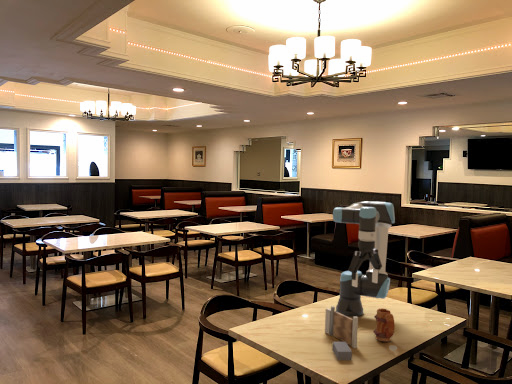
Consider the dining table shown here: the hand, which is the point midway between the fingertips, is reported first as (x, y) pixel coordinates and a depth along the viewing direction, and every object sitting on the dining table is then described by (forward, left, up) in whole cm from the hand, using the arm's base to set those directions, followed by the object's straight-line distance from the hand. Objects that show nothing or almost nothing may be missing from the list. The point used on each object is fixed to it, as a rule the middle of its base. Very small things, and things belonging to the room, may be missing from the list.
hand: (364, 284), depth 195 cm
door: (-4, -8, -26) cm, 28 cm away
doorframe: (-6, -9, -27) cm, 29 cm away
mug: (+7, +8, -27) cm, 29 cm away
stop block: (+7, -20, -27) cm, 34 cm away
